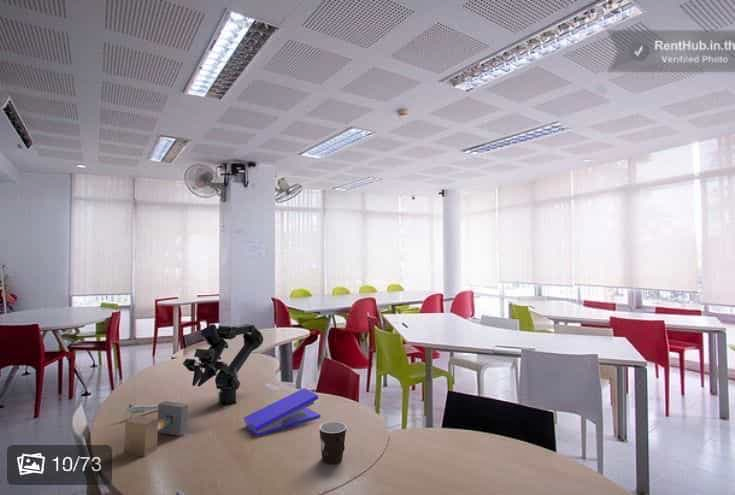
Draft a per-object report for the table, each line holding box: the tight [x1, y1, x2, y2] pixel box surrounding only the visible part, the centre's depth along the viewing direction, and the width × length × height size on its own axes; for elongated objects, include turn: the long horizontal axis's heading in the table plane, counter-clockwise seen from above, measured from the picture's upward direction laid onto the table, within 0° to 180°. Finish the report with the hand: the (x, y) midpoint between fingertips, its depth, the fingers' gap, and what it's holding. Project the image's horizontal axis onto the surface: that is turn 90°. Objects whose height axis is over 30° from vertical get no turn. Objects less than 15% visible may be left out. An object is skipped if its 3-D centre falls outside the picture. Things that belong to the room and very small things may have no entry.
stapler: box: [243, 387, 321, 437], centre depth 148 cm, size 12×28×10 cm, turn 132°
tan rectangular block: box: [123, 415, 173, 457], centre depth 128 cm, size 16×8×10 cm, turn 166°
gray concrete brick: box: [157, 400, 189, 437], centre depth 136 cm, size 3×10×10 cm, turn 76°
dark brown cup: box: [318, 421, 347, 465], centre depth 118 cm, size 12×9×10 cm
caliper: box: [124, 403, 158, 422], centre depth 155 cm, size 20×1×6 cm, turn 151°
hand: (195, 385), depth 147 cm, fingers closed
